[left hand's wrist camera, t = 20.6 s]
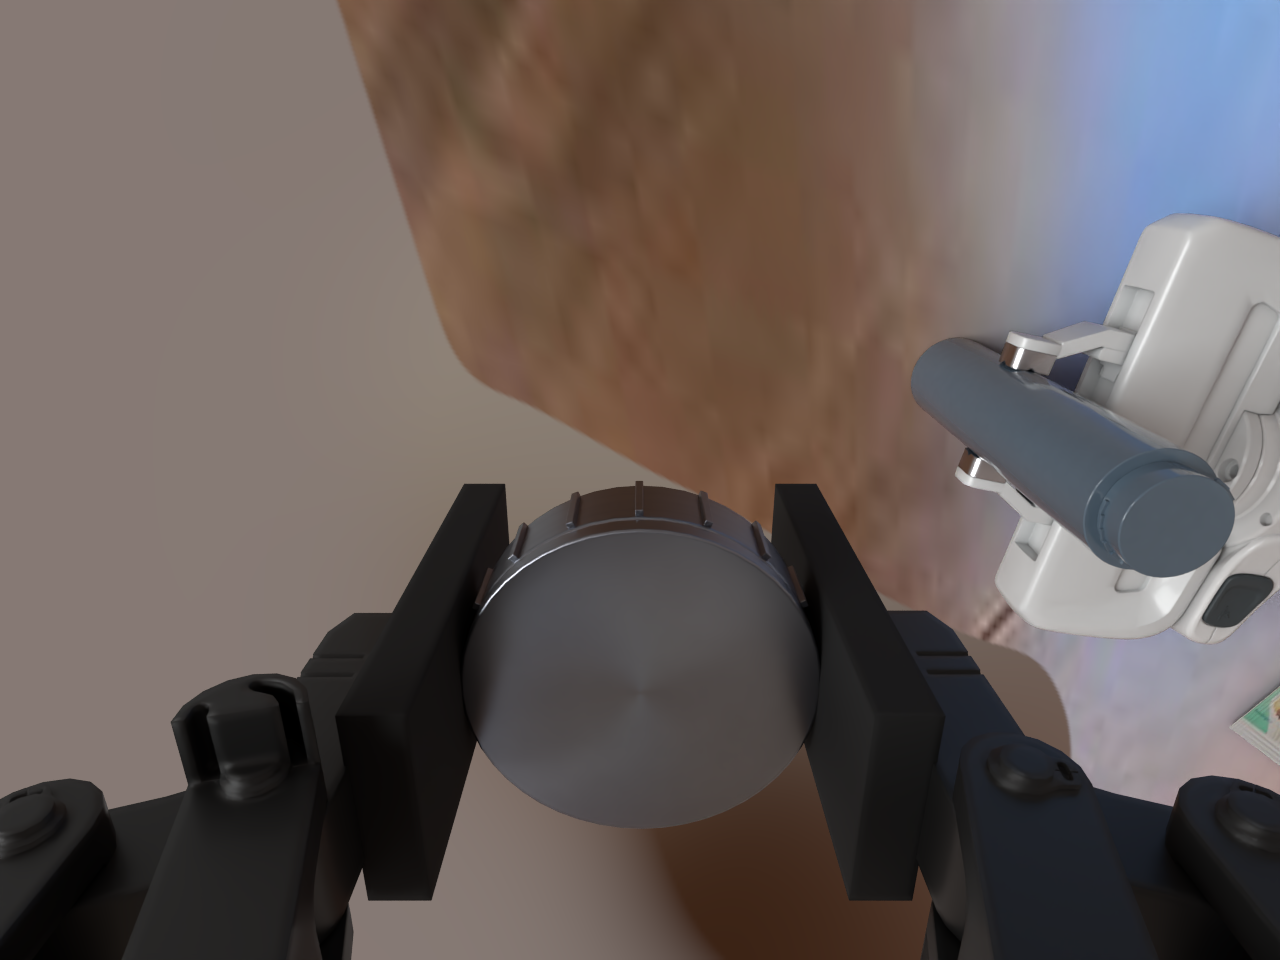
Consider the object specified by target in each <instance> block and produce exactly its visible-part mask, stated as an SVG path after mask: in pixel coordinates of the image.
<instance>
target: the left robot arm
mask: <svg viewBox="0 0 1280 960" xmlns="http://www.w3.org/2000/svg"><path fill="white" fill-rule="evenodd" d="M771 543H772V545H773V546H774V547H775V549H776V550H777V551H778V553H779V554H780V556H781V557H782V559H783V560H784V562H785V564H786V566H787V567H789V566H793V567H794V569H795V571H796V574H797V577H798V579H799V582H800V584H801V587H802V590H803V592H804V595H805V597H806V600H807V603H808V606H807V607H805V608H804V610H805V613H806V615H807V619H808V621H809V623H810V626H811V629H812V632H813V635H814V638H815V641H816V644H817V648H818V651H819V658H820V665H821V674H820V684H819V694H818V703H817V712H816V715H815V718H814V721H813V724H812V727H811V729H810V731H809V733H808V735H807V737H806V739H805V741H804V744H805V748H806V751H807V755H808V758H809V761H810V765H811V769H812V772H813V776H814V779H815V783H816V786H817V790H818V793H819V796H820V800H821V804H822V807H823V811H824V814H825V818H826V821H827V825H828V828H829V832H830V835H831V839H832V842H833V846H834V849H835V853H836V856H837V860H838V863H839V867H840V870H841V874H842V877H843V881H844V884H845V888H846V891H847V895H848V898H849V900H893V901H894V900H895V901H896V900H897V901H909V900H911V901H912V899H913V893H914V888H915V882H916V877H917V871H918V866H919V867H920V870H921V872H922V875H923V877H924V880H925V882H926V885H927V887H928V890H929V892H930V895H931V897H932V903H931V908H930V913H929V918H928V923H927V929H926V934H925V939H924V944H923V949H922V954H921V959H920V960H1280V795H1279V794H1277V793H1275V792H1273V791H1271V790H1269V789H1267V788H1264V787H1261V786H1258V785H1255V784H1252V783H1249V782H1246V781H1243V780H1240V779H1234V778H1227V777H1219V776H1205V777H1199V778H1192V779H1190V780H1189V781H1188V782H1187V783H1185V784H1184V785H1183V786H1182V787H1180V788H1179V791H1178V794H1177V797H1176V800H1175V803H1174V806H1173V807H1172V806H1167V805H1163V804H1159V803H1154V802H1150V801H1145V800H1141V799H1136V798H1132V797H1128V796H1123V795H1119V794H1115V793H1111V792H1108V791H1104V790H1101V789H1098V788H1094V787H1093V786H1092V784H1091V782H1090V780H1089V779H1088V777H1087V776H1086V774H1085V773H1084V771H1083V770H1082V768H1081V767H1080V766H1079V765H1078V764H1077V763H1075V762H1074V761H1073V760H1072V759H1070V758H1069V757H1068V756H1067V755H1066V754H1064V753H1063V752H1062V751H1060V750H1058V749H1056V748H1054V747H1052V746H1050V745H1048V744H1046V743H1044V742H1042V741H1040V740H1038V739H1034V738H1031V737H1027V736H1025V735H1024V734H1023V732H1022V731H1021V729H1020V728H1019V726H1018V725H1017V723H1016V722H1015V720H1014V719H1013V717H1012V716H1011V714H1010V713H1009V712H1008V710H1007V709H1006V707H1005V706H1004V704H1003V703H1002V701H1001V700H1000V698H999V697H998V695H997V694H996V692H995V691H994V689H993V688H992V687H991V685H990V684H989V682H988V681H987V679H986V678H985V676H984V675H982V674H980V669H979V667H978V666H977V664H976V663H975V661H974V660H973V658H972V657H971V656H968V651H967V650H966V648H965V647H964V645H963V644H962V642H961V641H960V639H959V638H958V636H957V635H956V633H955V632H954V630H953V629H951V628H950V627H949V626H947V625H946V624H944V623H943V622H942V621H940V620H939V619H937V618H936V617H935V616H933V615H932V614H930V613H929V612H928V611H887V610H886V608H885V606H884V604H883V603H882V601H881V599H880V597H879V595H878V594H877V592H876V590H875V588H874V586H873V585H872V583H871V581H870V579H869V578H868V576H867V574H866V572H865V570H864V569H863V567H862V565H861V563H860V561H859V560H858V558H857V556H856V554H855V552H854V551H853V549H852V547H851V545H850V543H849V542H848V540H847V538H846V536H845V535H844V533H843V531H842V529H841V527H840V526H839V524H838V522H837V520H836V518H835V517H834V515H833V513H832V511H831V509H830V508H829V506H828V504H827V502H826V501H825V499H824V497H823V495H822V493H821V492H820V490H819V488H818V486H817V484H775V497H774V511H773V526H772V540H771ZM508 546H509V533H508V519H507V505H506V491H505V484H464V485H463V487H462V489H461V491H460V492H459V494H458V496H457V498H456V500H455V501H454V503H453V505H452V507H451V509H450V510H449V512H448V514H447V516H446V518H445V519H444V521H443V523H442V525H441V527H440V528H439V530H438V532H437V534H436V535H435V537H434V539H433V541H432V543H431V544H430V546H429V548H428V550H427V552H426V553H425V555H424V557H423V559H422V561H421V562H420V564H419V566H418V568H417V570H416V571H415V573H414V575H413V577H412V578H411V580H410V582H409V584H408V586H407V587H406V589H405V591H404V593H403V595H402V596H401V598H400V600H399V602H398V604H397V605H396V607H395V609H394V611H393V613H354V614H352V615H351V616H350V617H348V618H347V619H346V620H344V621H343V622H341V623H340V624H339V625H337V626H336V627H334V628H333V629H332V630H330V631H329V632H328V633H327V634H326V636H325V637H324V639H323V640H322V642H321V643H320V645H319V646H318V648H317V649H316V651H315V652H314V654H313V658H311V659H310V660H309V661H308V663H307V664H306V665H305V667H304V669H303V670H302V672H301V677H297V679H296V678H293V677H289V676H285V675H281V674H253V675H249V676H245V677H240V678H237V679H232V680H228V681H226V682H223V683H221V684H219V685H217V686H214V687H212V688H210V689H208V690H205V691H203V692H202V693H200V694H199V695H197V696H196V697H195V698H193V699H192V700H191V701H189V702H188V703H186V704H185V705H184V706H183V707H182V708H181V709H180V711H179V712H178V713H177V714H176V716H175V717H174V718H173V720H172V721H171V725H172V728H173V732H174V736H175V739H176V743H177V746H178V750H179V753H180V757H181V761H182V764H183V768H184V771H185V775H186V778H187V782H188V787H187V790H186V791H183V792H180V793H177V794H173V795H170V796H167V797H162V798H158V799H154V800H149V801H145V802H141V803H136V804H132V805H127V806H123V807H118V808H114V809H110V810H108V807H107V804H106V801H105V798H104V795H103V792H102V791H101V790H100V789H99V788H97V787H96V786H95V785H94V784H93V783H91V782H88V781H82V780H76V779H63V780H56V781H49V782H42V783H39V784H36V785H33V786H30V787H28V788H24V789H21V790H19V791H16V792H13V793H11V794H9V795H7V796H5V797H4V798H2V799H0V960H351V954H352V943H353V926H352V919H351V913H350V908H349V903H348V902H349V900H350V897H351V895H352V892H353V890H354V887H355V885H356V882H357V880H358V877H359V875H360V872H361V870H362V868H363V874H364V880H365V885H366V890H367V896H368V900H369V901H370V900H372V901H373V900H374V901H375V900H377V901H378V900H387V901H388V900H390V901H391V900H432V896H433V893H434V889H435V886H436V882H437V879H438V875H439V872H440V868H441V865H442V861H443V858H444V854H445V851H446V847H447V844H448V840H449V837H450V833H451V830H452V826H453V823H454V819H455V816H456V812H457V809H458V805H459V802H460V798H461V795H462V791H463V788H464V784H465V781H466V777H467V774H468V770H469V767H470V763H471V760H472V756H473V753H474V749H475V746H476V742H477V740H476V738H475V736H474V734H473V732H472V730H471V727H470V724H469V721H468V719H467V716H466V713H465V709H464V704H463V697H462V688H461V665H462V657H463V651H464V648H465V644H466V641H467V637H468V634H469V631H470V628H471V626H472V623H473V621H474V617H475V615H476V612H477V610H475V609H473V608H472V607H473V604H474V602H475V599H476V596H477V594H478V591H479V589H480V586H481V583H482V581H483V578H484V576H485V573H486V571H487V569H488V568H490V569H494V567H495V565H496V563H497V562H498V560H499V559H500V557H501V556H502V554H503V552H504V551H505V549H506V548H507V547H508Z"/></svg>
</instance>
